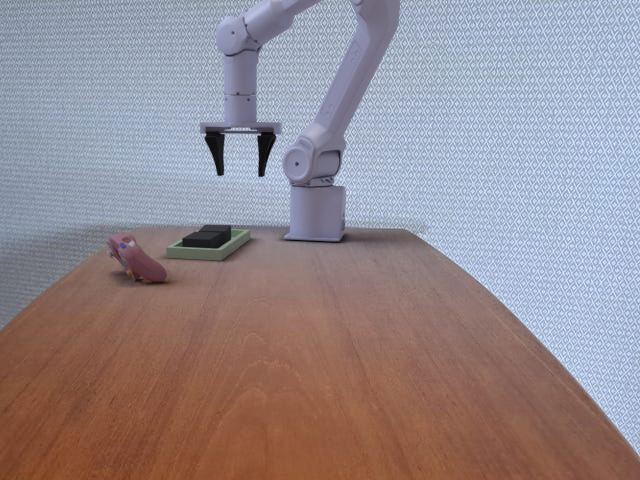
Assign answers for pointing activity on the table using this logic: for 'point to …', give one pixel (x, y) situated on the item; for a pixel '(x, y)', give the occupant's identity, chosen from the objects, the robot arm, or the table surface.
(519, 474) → the table surface
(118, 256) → the video game controller
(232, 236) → the holder
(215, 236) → the pad seated
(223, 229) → the pad loose
